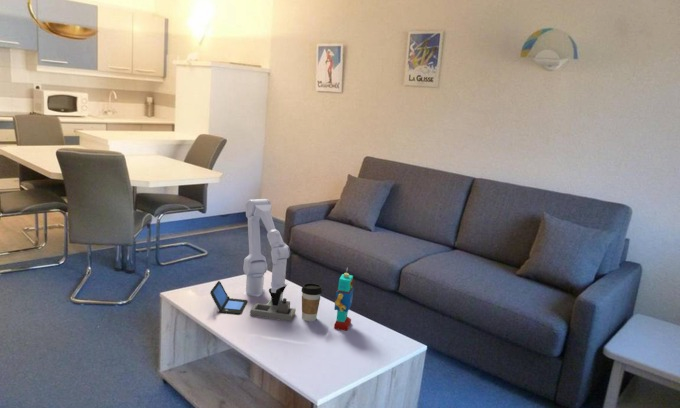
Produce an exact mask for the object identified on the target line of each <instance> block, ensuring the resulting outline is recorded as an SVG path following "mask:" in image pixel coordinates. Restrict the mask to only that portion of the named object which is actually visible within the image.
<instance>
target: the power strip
mask: <svg viewBox="0 0 680 408" xmlns="http://www.w3.org/2000/svg"><path fill="white" fill-rule="evenodd" d="M295 314H296V308H295V307H294V308H293V307H290V312H289V314H283V313H278V306H274V305H268V304H267V303H259V302H256V303H255V304H254V305H252V308H250V312H249V316H252V317H257V318H258V317H259V318H264V319H273V320H278V321H284V322H292V320H293V318H294V316H295Z"/></svg>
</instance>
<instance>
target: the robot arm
mask: <svg viewBox="0 0 680 408" xmlns="http://www.w3.org/2000/svg"><path fill="white" fill-rule="evenodd" d="M272 207H273V206H272V203H271V201H270V200H269V198H257V199H256V198H255V199H248V200H247V201H246V203H245V217H246V218H247V233H248V234H247V235H248V250H249V251H248V252H249V253H248V255H247V256H246V257H245V258H243V266H242V268H243V269H242V271H243V273H244V276H246V281H245V282H246V283H245V291H243V293H242V295H244V296H245V295H246V296H250V297H251V296H252V297H261V295H263V294H264V292H265V291H266V289H264V282H265V274H266V273H267V272H268V263H267V260H266V256H264V255H263V254H262V250H261V249H262V248H261V247H262V245H261V229H260V220H261V221H262V223H263V225H264V227H265V230H266V231H267V234H266V238H267V240H268V243H269V246H270V247H271V251H270V256H271V262H272V273H271V281H270V287H271V288H269V289H268V293H269V294H270V298H272V304H273V305H276V306H277V305H278V302H279V298H280V295H281V293H282V292H283V293H284V291H285V289H286V287H287V286H288V283H286V273H287V263H288V261H287V259H289V258H290V256H291V250H290V246H289V245H287V243H286V242H285V241H284V240H283V238H282V235H281V232H280V231H279V230H278V229H276V226H275V223H274V220H273V217H272V213H271V212H272Z"/></svg>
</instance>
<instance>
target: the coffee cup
mask: <svg viewBox="0 0 680 408" xmlns="http://www.w3.org/2000/svg"><path fill="white" fill-rule="evenodd" d="M322 292H323V290H322V285H320V284H318V283H313V282H306V283H303V285H302V286H301V294H302V295H301V319H302V320H303V321H306V322H315V321H316V320H317V317H318V311H319V307H320V301H321V294H322Z"/></svg>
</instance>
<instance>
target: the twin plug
mask: <svg viewBox="0 0 680 408" xmlns="http://www.w3.org/2000/svg"><path fill="white" fill-rule="evenodd" d="M290 308H291V301H290V300H289V301H288V300H287V298H285V297H284V298H282V300H281V301H280V302H279V304H278V313H283V314H289V312H290Z"/></svg>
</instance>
